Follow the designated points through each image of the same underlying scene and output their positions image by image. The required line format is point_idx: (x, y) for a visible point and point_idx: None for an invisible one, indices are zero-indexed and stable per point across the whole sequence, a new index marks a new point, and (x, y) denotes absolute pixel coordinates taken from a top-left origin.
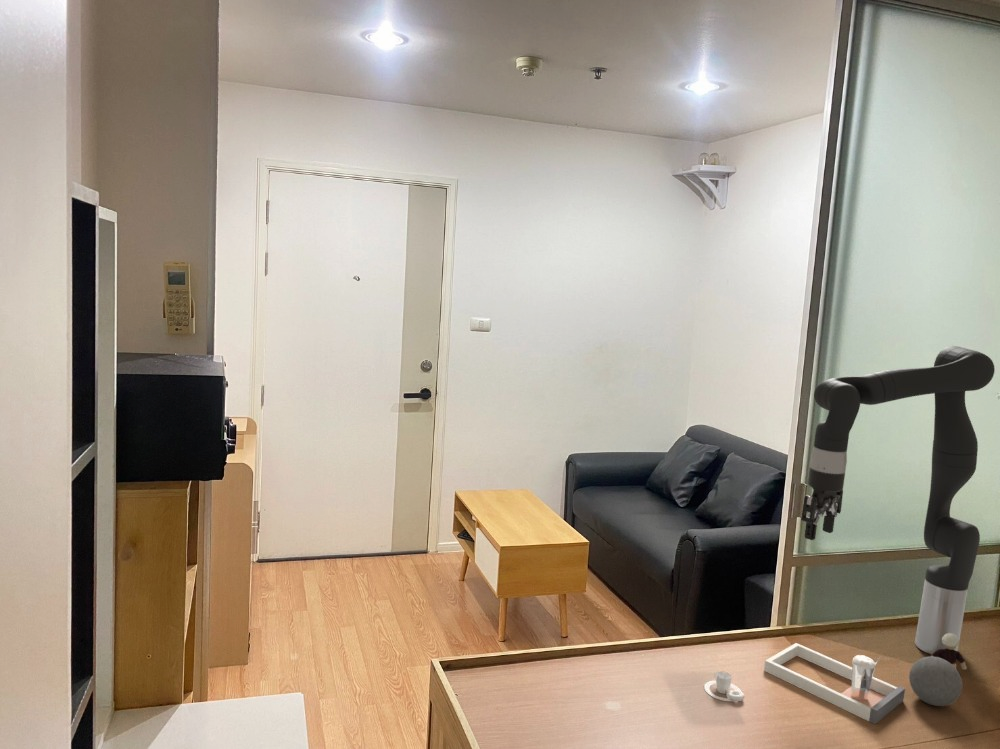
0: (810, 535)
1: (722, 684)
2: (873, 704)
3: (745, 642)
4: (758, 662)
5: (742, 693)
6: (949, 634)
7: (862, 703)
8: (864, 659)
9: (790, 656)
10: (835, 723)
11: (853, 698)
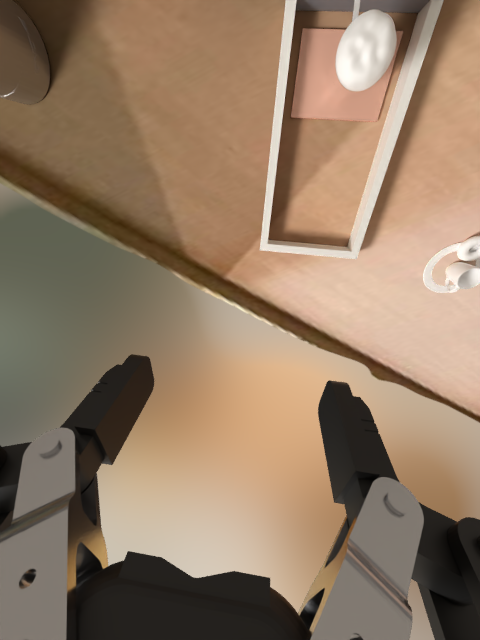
0: (368, 413)
1: (476, 271)
2: None
3: (286, 304)
4: (331, 269)
5: (475, 241)
6: None
7: None
8: (376, 44)
9: (288, 242)
10: (474, 72)
11: None
